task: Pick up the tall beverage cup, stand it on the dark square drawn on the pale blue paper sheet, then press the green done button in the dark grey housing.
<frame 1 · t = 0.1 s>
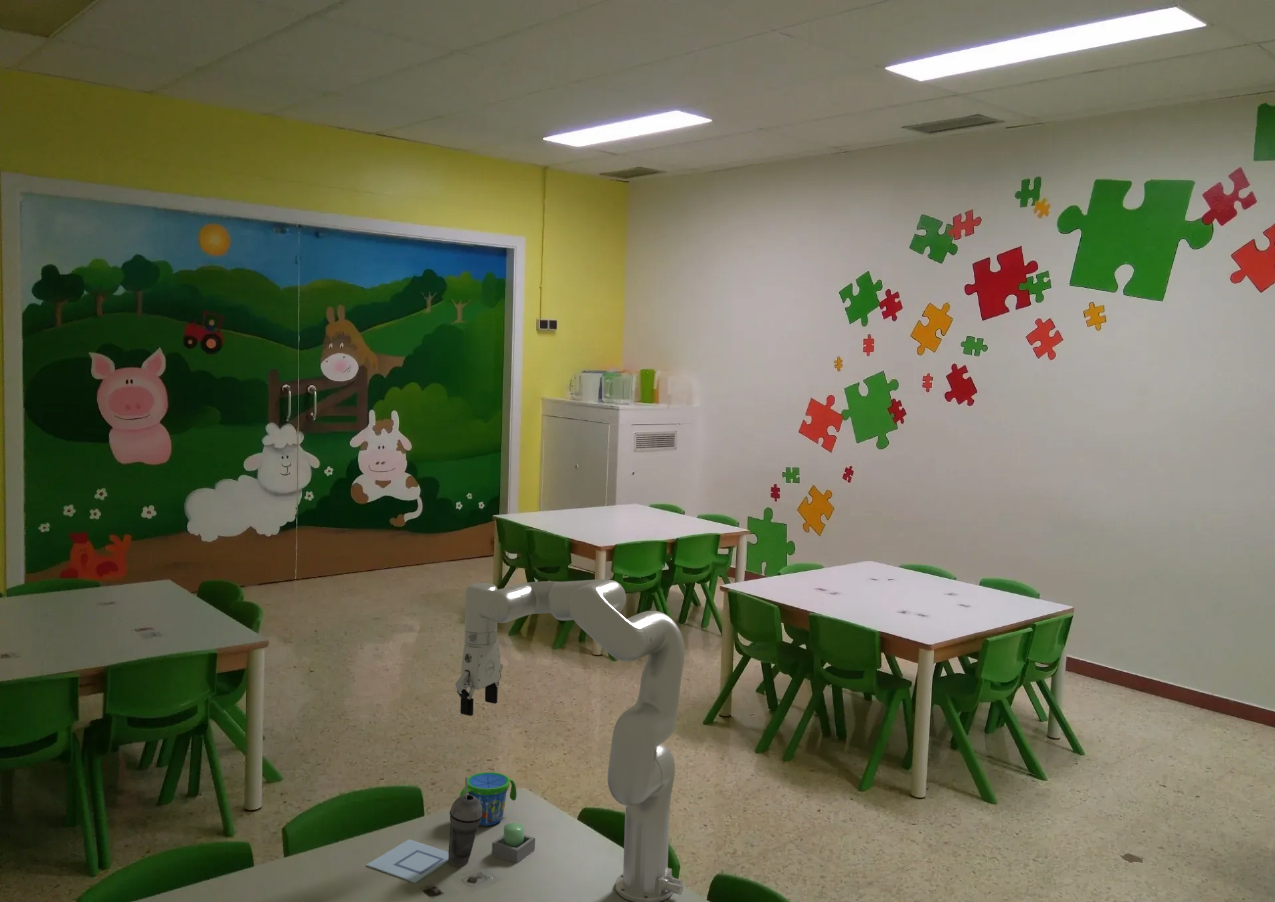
hand: (479, 708, 230), 31 cm above the table, tool pointing down, fingers open, 9 cm apart
snack cup: (487, 821, 241), on the table
done button: (513, 836, 225), point 4 cm above the table, slide at 0.0 cm
paper: (412, 860, 220), on the table
beverage cup: (458, 861, 220), on the table
button housing: (513, 852, 225), on the table
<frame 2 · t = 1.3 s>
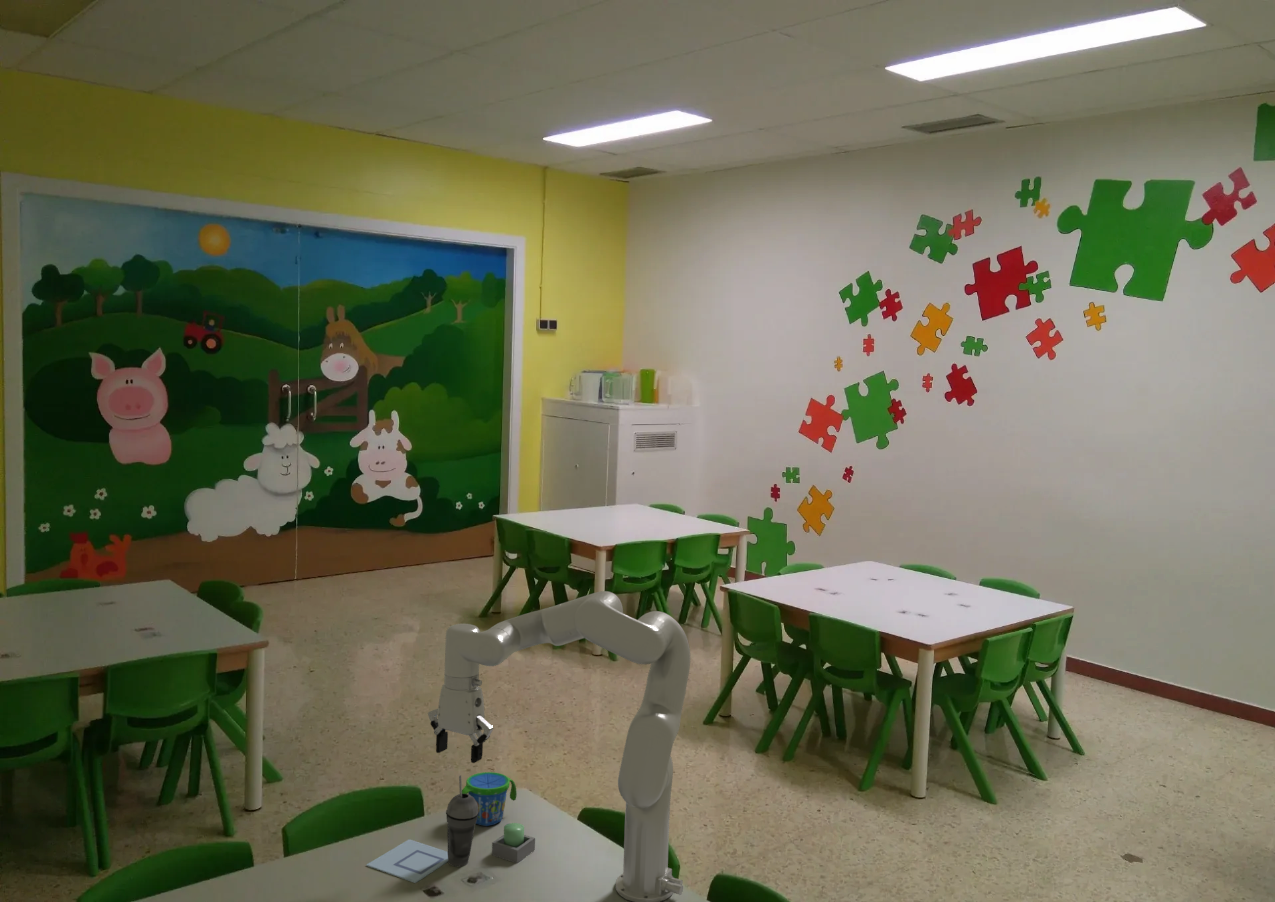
hand: (458, 756, 218), 24 cm above the table, tool pointing down, fingers open, 9 cm apart
beverage cup: (458, 862, 220), on the table, touching paper
everything else where it was.
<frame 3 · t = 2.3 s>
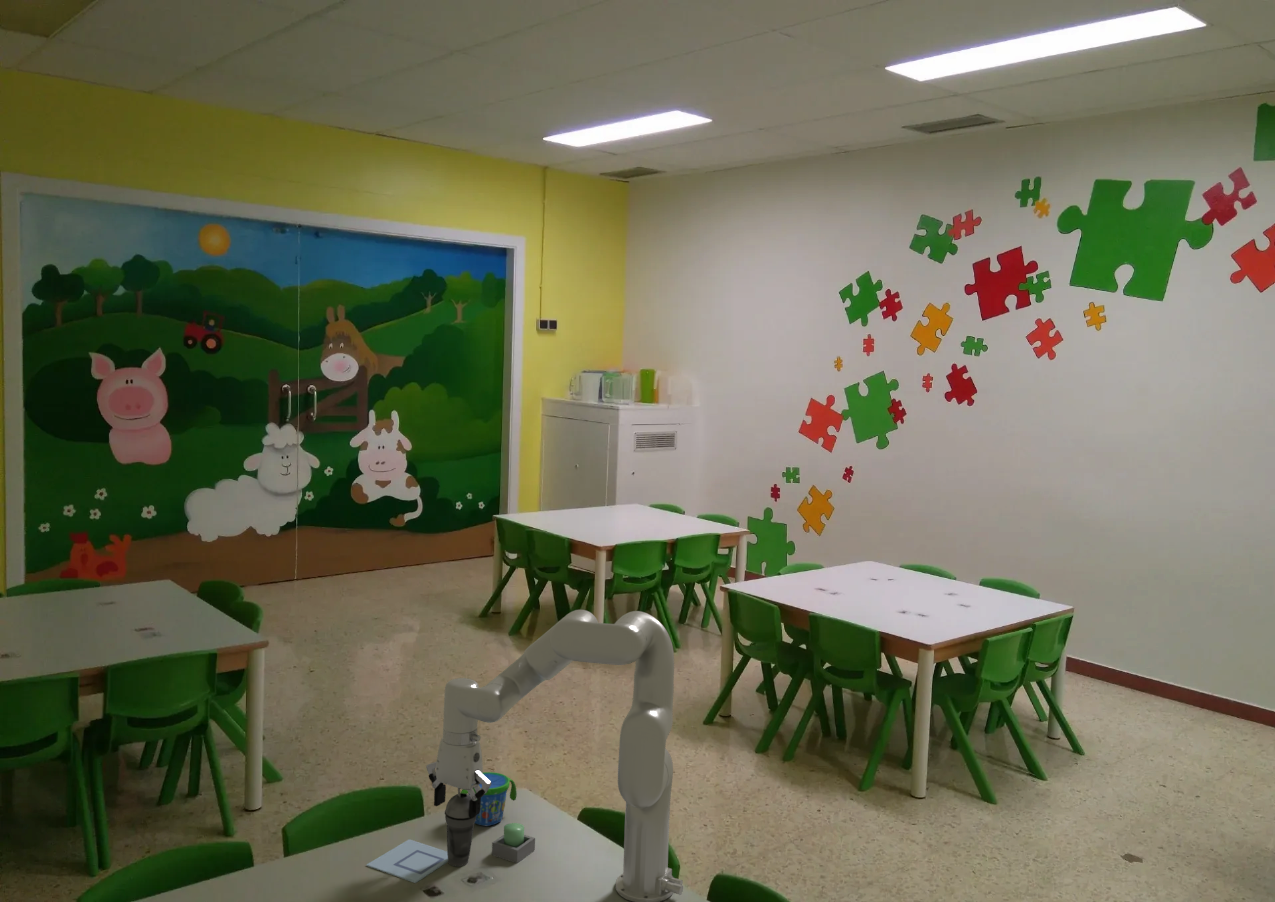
hand: (456, 809, 219), 12 cm above the table, tool pointing down, fingers open, 9 cm apart
beverage cup: (458, 862, 220), on the table, touching gripper, paper
everything else where it was.
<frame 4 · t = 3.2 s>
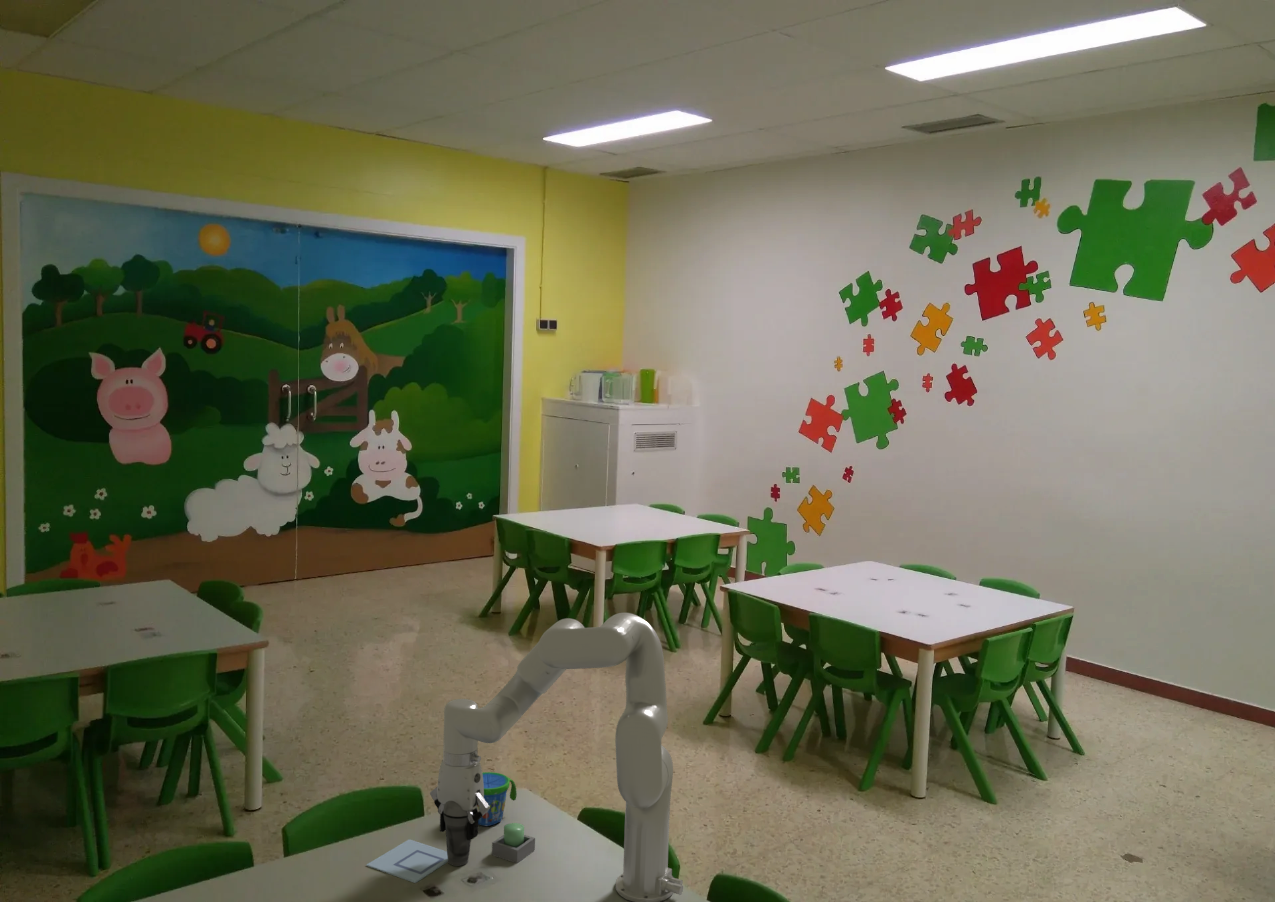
hand: (458, 833, 219), 7 cm above the table, tool pointing down, fingers closed on beverage cup, 6 cm apart
beverage cup: (458, 861, 220), on the table, touching gripper, paper
everything else where it was.
when the fingers open (8 cm above the table, at t = 9.4 s): beverage cup drops 1 cm, resting on paper.
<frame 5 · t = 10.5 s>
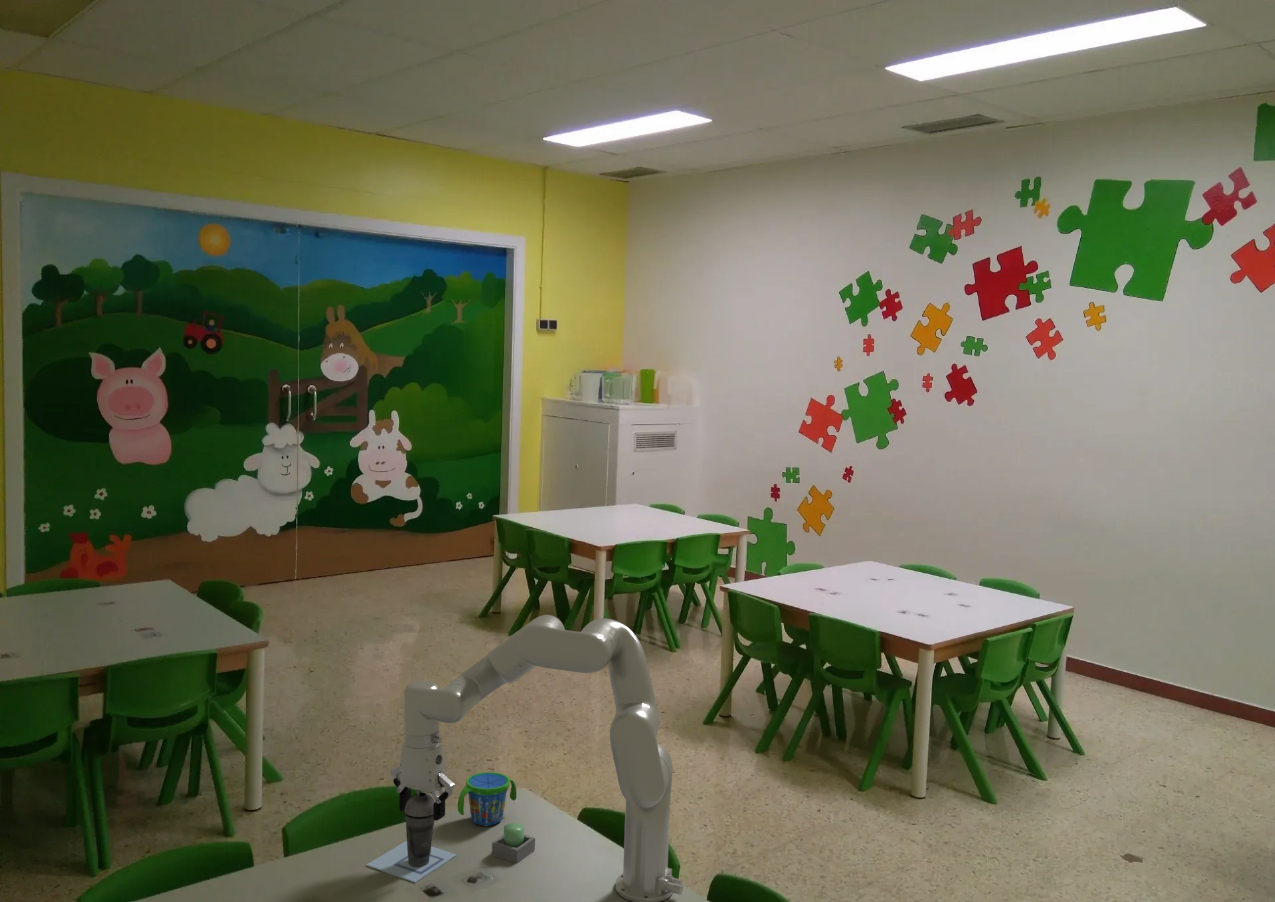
hand: (422, 813, 218), 12 cm above the table, tool pointing down, fingers open, 9 cm apart
beverage cup: (418, 862, 218), resting on paper
everything else where it was.
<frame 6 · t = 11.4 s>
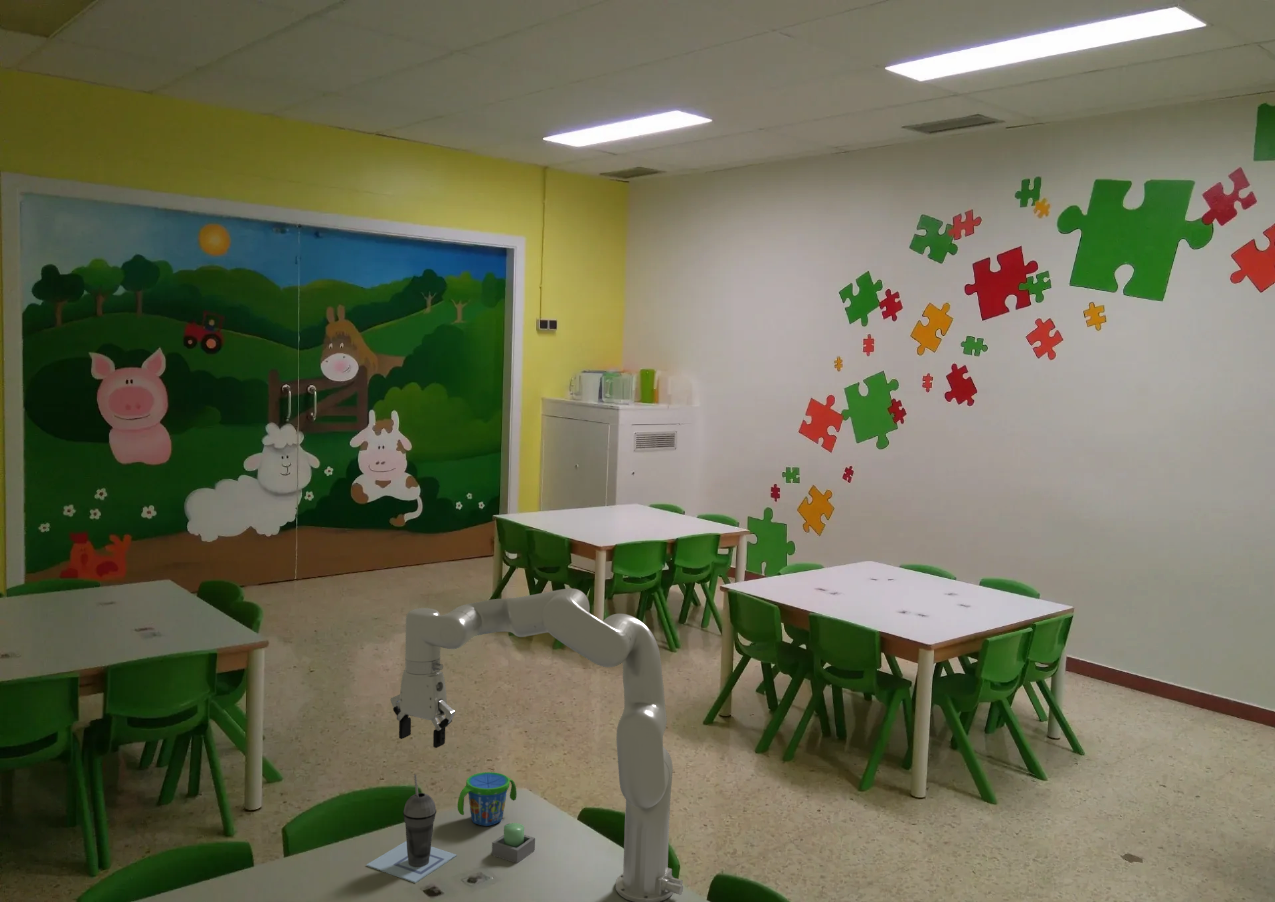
hand: (421, 741, 216), 28 cm above the table, tool pointing down, fingers open, 9 cm apart
nothing on the table moved.
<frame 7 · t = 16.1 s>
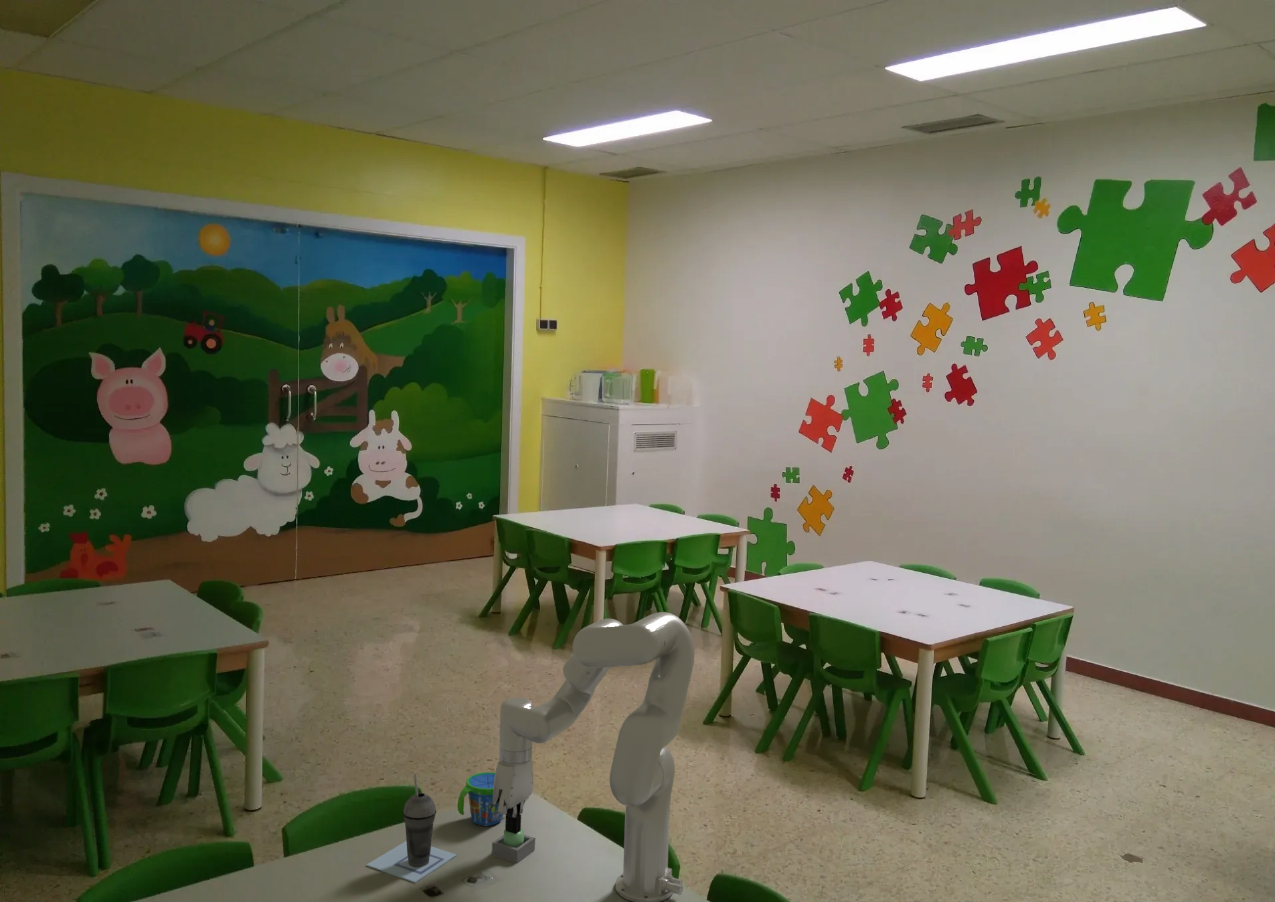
hand: (512, 831, 225), 5 cm above the table, tool pointing down, fingers closed
done button: (513, 839, 225), point 3 cm above the table, slide at -0.9 cm, touching gripper
everything else where it was.
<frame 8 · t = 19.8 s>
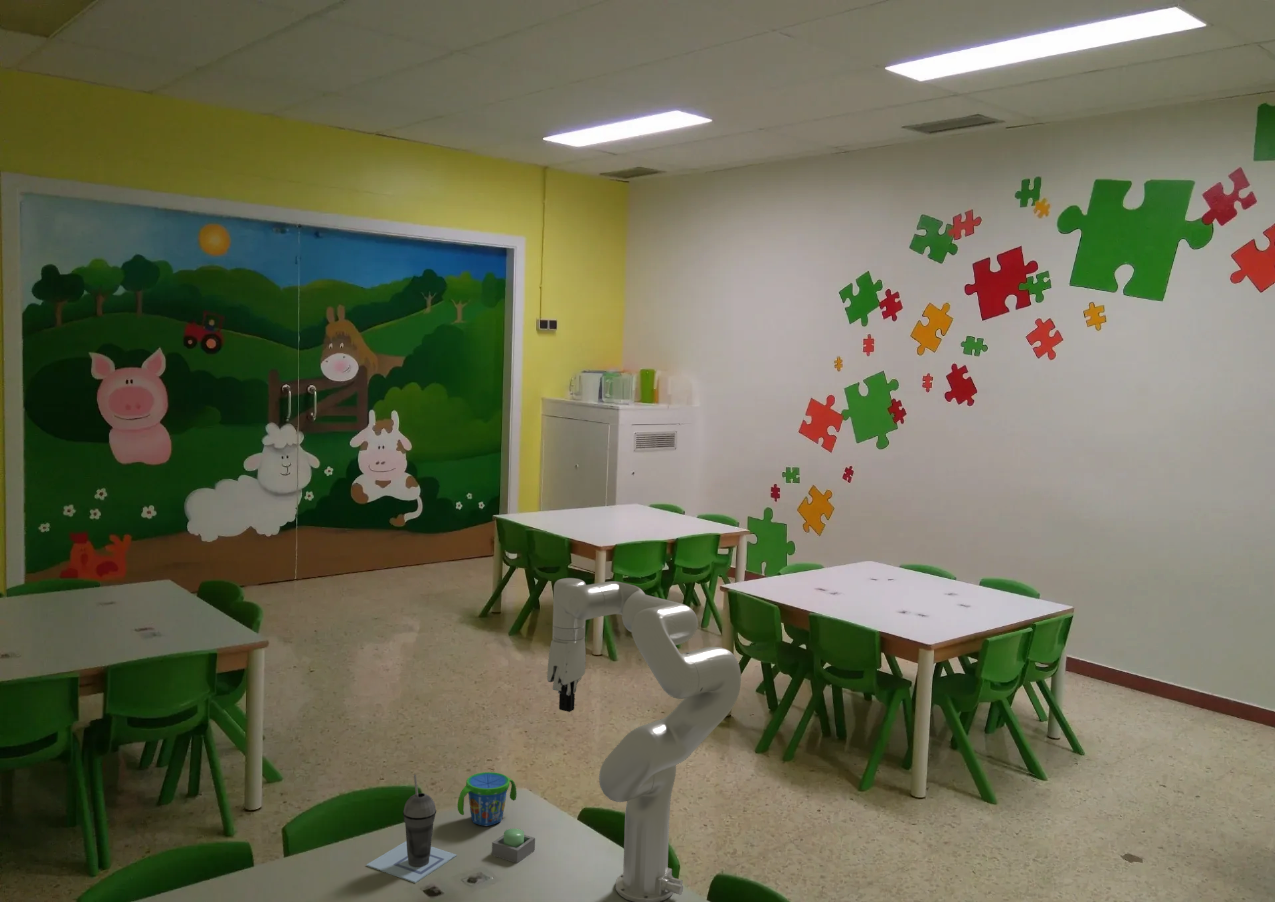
hand: (566, 709, 228), 32 cm above the table, tool pointing down, fingers closed
done button: (513, 841, 225), point 3 cm above the table, slide at -1.3 cm
everything else where it was.
at the end: beverage cup inside the target area (0.2 cm from its centre), resting on paper; beverage cup tilted 0°; done button slide at -1.3 cm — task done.
